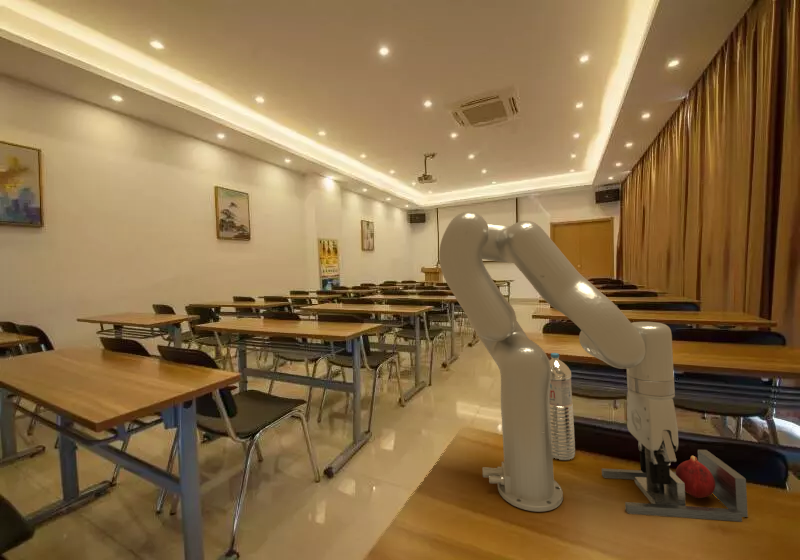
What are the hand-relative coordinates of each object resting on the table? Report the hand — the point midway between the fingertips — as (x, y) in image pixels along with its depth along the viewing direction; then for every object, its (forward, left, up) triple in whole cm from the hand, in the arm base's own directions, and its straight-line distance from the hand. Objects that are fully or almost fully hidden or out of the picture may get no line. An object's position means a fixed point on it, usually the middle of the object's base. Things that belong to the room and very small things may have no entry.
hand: (655, 476), depth 67 cm
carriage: (0, 0, -4) cm, 4 cm away
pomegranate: (+7, 0, -4) cm, 8 cm away
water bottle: (-14, +14, -4) cm, 21 cm away
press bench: (+2, 0, -4) cm, 4 cm away
